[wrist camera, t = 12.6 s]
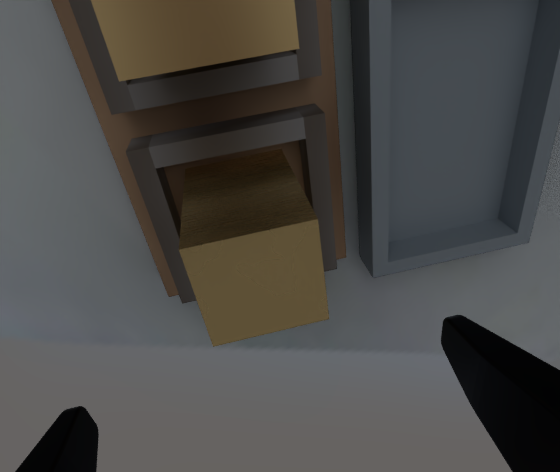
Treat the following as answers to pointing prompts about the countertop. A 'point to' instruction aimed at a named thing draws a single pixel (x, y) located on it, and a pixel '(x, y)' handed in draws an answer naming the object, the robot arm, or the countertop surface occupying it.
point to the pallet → (210, 102)
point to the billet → (251, 247)
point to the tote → (451, 125)
